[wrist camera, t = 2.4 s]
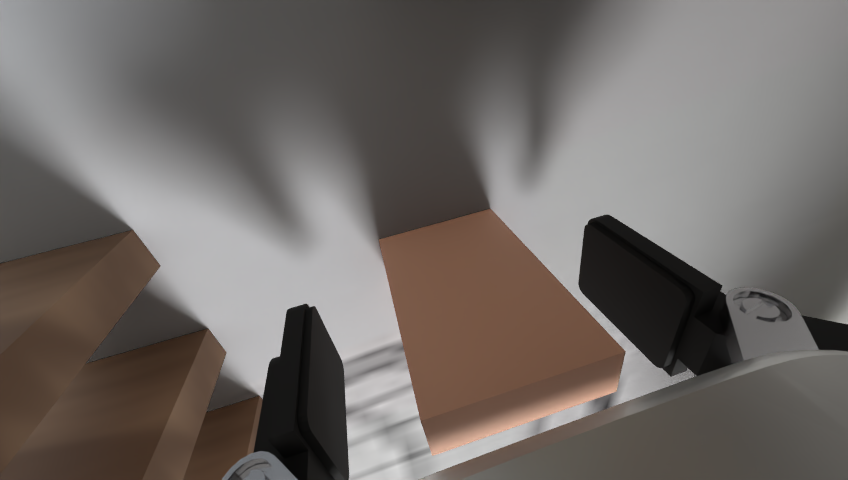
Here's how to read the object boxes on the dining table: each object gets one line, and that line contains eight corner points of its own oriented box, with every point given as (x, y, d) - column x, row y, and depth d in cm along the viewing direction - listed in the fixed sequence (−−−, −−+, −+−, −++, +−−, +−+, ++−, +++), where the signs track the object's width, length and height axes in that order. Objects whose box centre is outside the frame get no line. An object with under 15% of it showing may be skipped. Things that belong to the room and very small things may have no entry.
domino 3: (226, 352, 15) (142, 599, 8) (110, 387, 15) (-79, 679, 8) (208, 328, 14) (97, 582, 8) (83, 364, 14) (-153, 670, 7)
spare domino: (492, 239, 15) (616, 391, 9) (387, 269, 15) (432, 455, 8) (490, 208, 15) (625, 351, 8) (378, 239, 14) (420, 421, 7)
